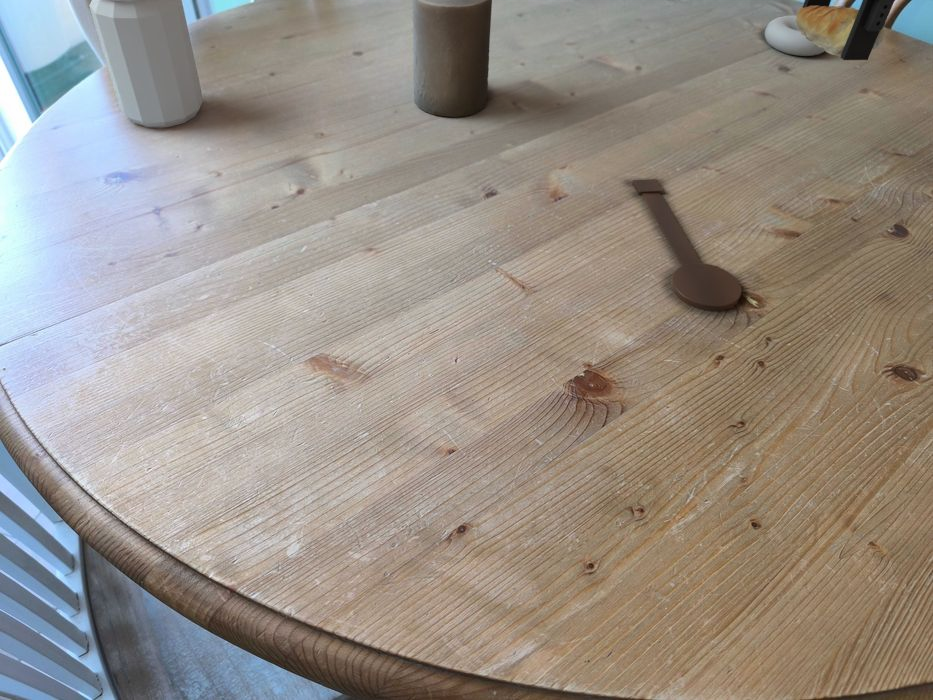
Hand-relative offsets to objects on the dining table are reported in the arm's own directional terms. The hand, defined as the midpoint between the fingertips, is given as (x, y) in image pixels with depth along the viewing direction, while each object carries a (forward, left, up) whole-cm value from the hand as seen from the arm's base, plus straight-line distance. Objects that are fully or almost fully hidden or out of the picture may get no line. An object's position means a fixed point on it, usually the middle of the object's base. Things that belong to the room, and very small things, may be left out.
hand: (831, 38), depth 83 cm
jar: (+76, -15, -14) cm, 79 cm away
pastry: (0, +1, 0) cm, 1 cm away
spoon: (+21, +18, -14) cm, 31 cm away
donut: (-16, -31, -14) cm, 38 cm away
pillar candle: (+40, -16, -14) cm, 46 cm away
